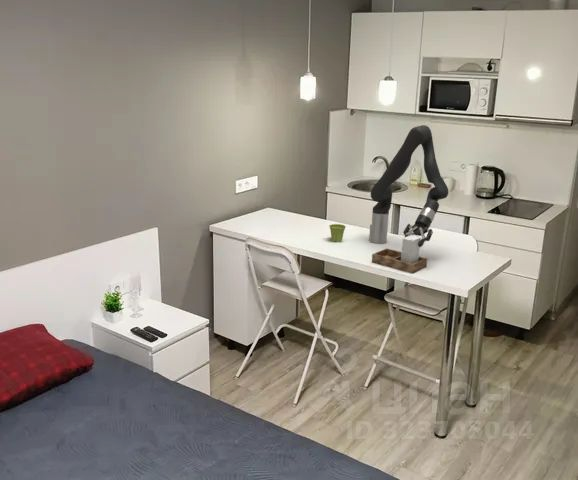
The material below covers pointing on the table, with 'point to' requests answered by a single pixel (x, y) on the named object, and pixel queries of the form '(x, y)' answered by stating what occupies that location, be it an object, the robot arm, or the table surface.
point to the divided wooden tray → (397, 261)
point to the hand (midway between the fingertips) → (411, 244)
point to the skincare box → (410, 249)
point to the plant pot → (337, 232)
